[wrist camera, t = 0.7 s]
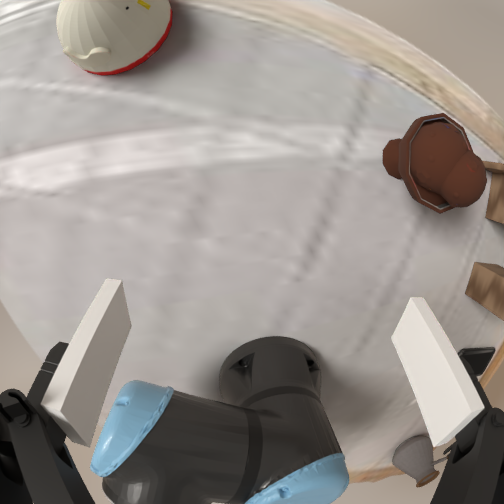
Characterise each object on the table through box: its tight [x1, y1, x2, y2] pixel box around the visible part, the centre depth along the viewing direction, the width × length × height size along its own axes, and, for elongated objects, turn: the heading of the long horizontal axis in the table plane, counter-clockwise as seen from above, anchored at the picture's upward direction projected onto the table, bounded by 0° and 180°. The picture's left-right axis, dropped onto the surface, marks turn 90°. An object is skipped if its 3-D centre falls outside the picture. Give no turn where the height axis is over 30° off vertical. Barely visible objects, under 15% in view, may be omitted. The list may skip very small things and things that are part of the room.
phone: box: [458, 347, 495, 376], centre depth 50 cm, size 8×1×15 cm
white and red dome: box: [56, 0, 172, 75], centre depth 20 cm, size 14×14×15 cm
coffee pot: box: [392, 436, 449, 487], centre depth 49 cm, size 21×12×15 cm, turn 152°
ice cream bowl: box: [383, 113, 487, 213], centre depth 28 cm, size 11×11×15 cm
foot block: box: [465, 262, 504, 321], centre depth 38 cm, size 6×8×12 cm
